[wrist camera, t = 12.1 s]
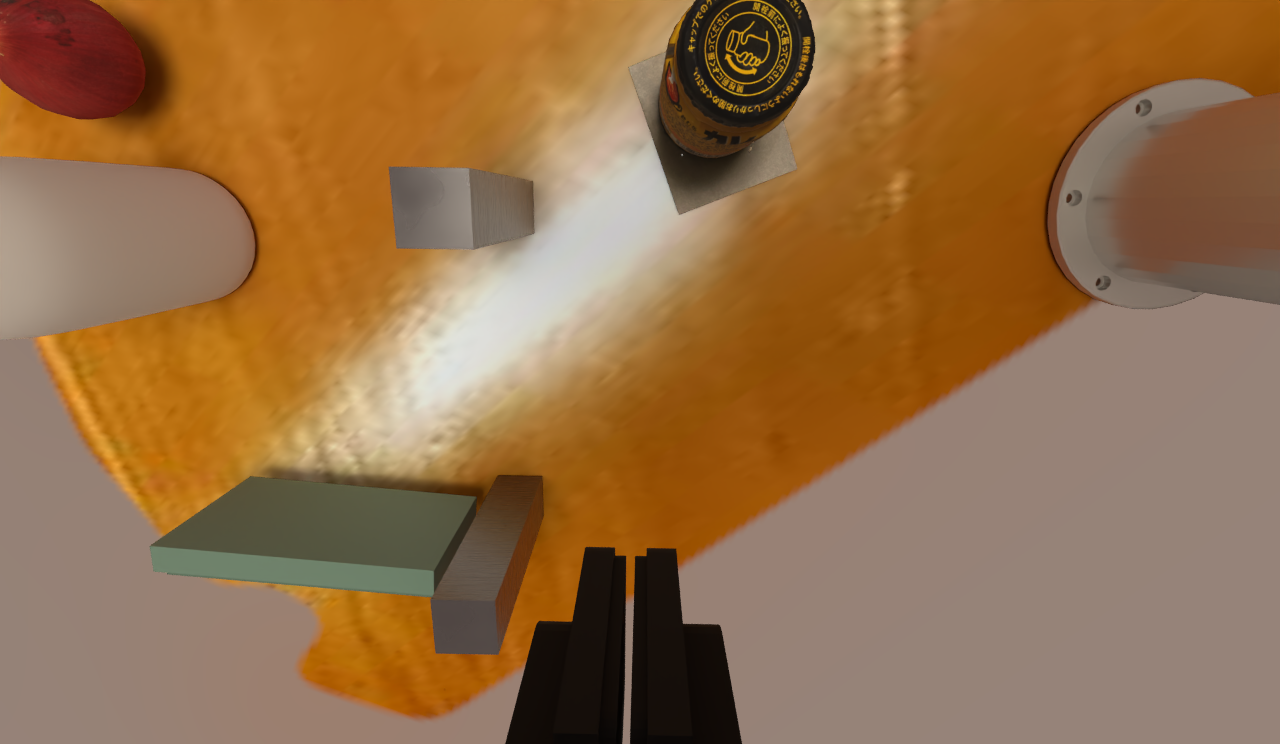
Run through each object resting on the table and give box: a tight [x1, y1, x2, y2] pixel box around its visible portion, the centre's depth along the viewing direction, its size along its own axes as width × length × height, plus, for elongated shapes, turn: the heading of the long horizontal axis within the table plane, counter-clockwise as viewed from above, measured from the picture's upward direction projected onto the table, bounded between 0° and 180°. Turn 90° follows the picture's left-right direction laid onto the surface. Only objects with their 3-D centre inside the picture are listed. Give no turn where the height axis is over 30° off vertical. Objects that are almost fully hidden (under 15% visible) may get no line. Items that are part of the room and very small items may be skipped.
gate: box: [150, 476, 477, 597], centre depth 34 cm, size 14×2×8 cm, turn 85°
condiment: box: [628, 0, 815, 214], centre depth 28 cm, size 7×8×12 cm
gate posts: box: [389, 167, 544, 655], centre depth 31 cm, size 3×22×13 cm, turn 179°
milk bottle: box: [0, 157, 256, 340], centre depth 26 cm, size 8×8×20 cm
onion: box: [0, 0, 146, 119], centre depth 29 cm, size 6×6×8 cm
